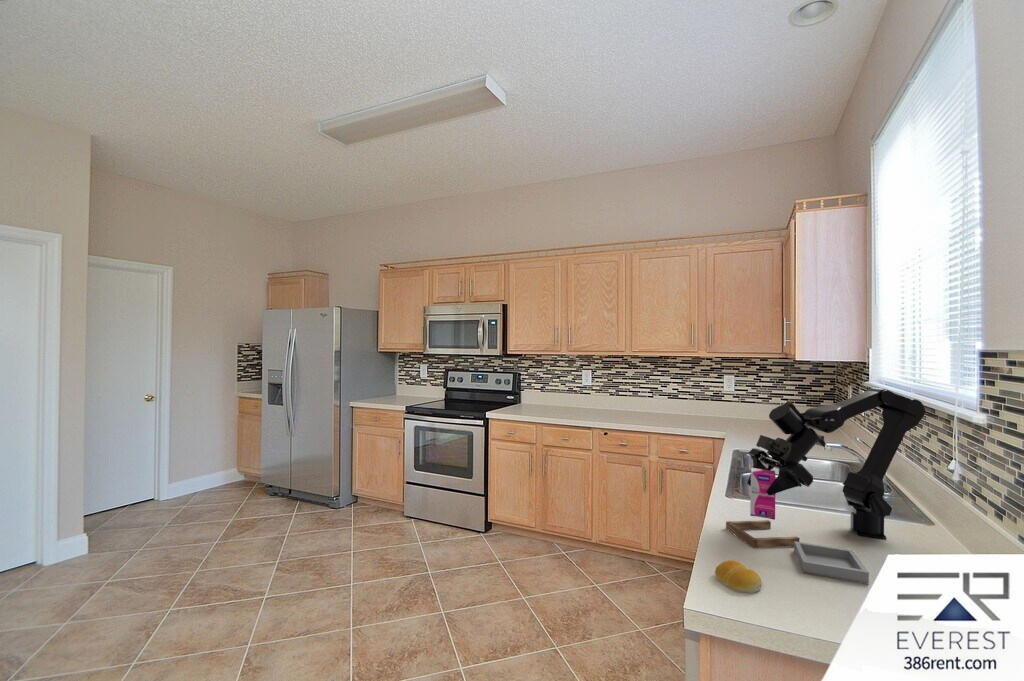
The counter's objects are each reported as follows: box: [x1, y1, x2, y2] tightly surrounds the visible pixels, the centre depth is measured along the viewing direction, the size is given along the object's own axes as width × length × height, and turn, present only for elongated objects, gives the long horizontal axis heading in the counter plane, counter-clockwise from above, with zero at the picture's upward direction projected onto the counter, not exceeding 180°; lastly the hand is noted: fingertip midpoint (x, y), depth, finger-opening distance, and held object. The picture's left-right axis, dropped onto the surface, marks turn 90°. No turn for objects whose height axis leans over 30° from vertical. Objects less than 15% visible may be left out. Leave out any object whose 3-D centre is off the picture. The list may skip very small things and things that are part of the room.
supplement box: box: [749, 467, 777, 520], centre depth 125 cm, size 6×6×12 cm
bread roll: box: [714, 559, 763, 594], centre depth 100 cm, size 8×9×4 cm
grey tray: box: [793, 541, 870, 584], centre depth 108 cm, size 12×12×2 cm
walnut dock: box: [725, 519, 800, 549], centre depth 124 cm, size 12×12×2 cm
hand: (757, 489), depth 124 cm, fingers closed on supplement box, 8 cm apart
